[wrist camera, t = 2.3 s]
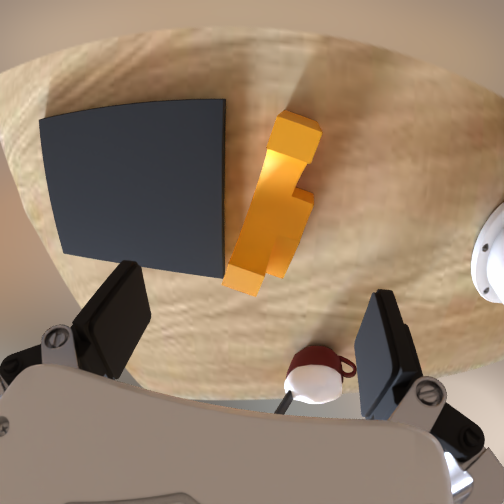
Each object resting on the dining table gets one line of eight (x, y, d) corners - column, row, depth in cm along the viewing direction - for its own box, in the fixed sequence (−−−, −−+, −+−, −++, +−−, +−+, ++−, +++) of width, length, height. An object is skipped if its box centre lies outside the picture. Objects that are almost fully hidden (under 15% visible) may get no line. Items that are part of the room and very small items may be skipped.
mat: (226, 98, 20) (223, 99, 20) (224, 274, 29) (222, 279, 28) (43, 118, 23) (38, 119, 22) (67, 250, 31) (63, 253, 30)
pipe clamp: (285, 257, 27) (279, 304, 21) (239, 241, 27) (221, 284, 21) (339, 130, 20) (352, 145, 15) (284, 109, 20) (277, 116, 15)
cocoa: (359, 342, 31) (367, 438, 20) (341, 374, 34) (342, 461, 24) (275, 330, 31) (259, 428, 21) (267, 364, 35) (251, 452, 25)
